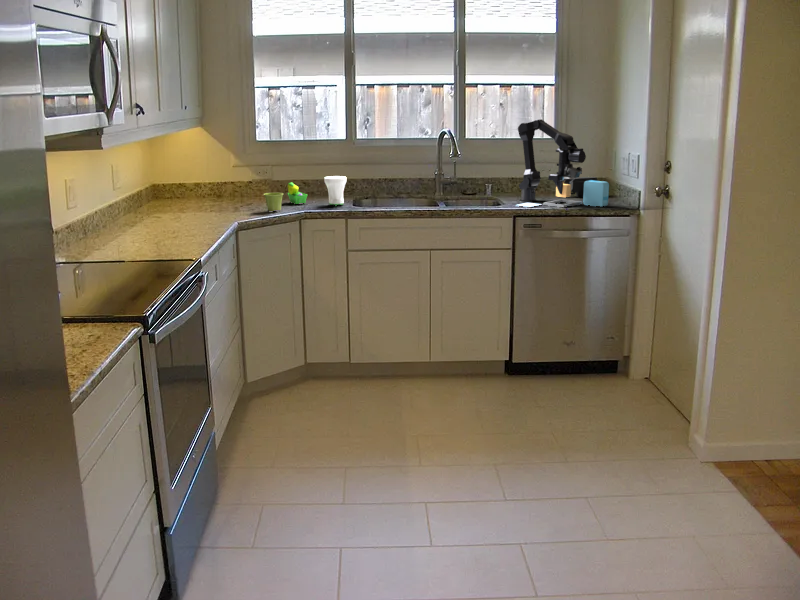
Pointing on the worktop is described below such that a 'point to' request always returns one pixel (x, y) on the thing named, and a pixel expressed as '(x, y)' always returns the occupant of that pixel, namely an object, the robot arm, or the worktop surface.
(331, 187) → the cup
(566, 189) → the module
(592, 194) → the data package
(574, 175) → the robot arm
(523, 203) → the mat
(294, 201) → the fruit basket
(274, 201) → the plant pot
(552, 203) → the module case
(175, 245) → the worktop surface
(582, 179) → the security camera
